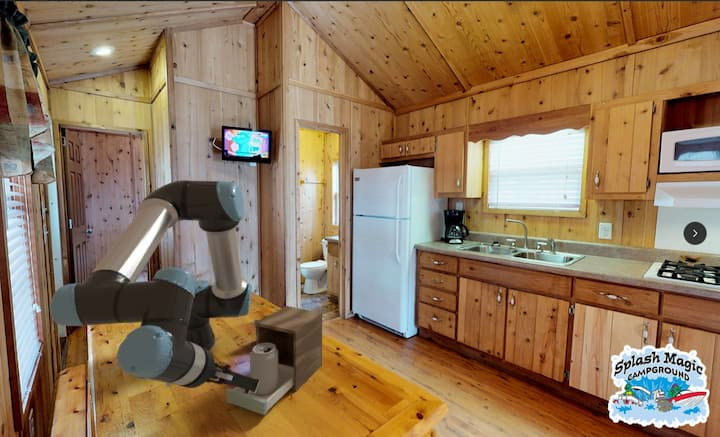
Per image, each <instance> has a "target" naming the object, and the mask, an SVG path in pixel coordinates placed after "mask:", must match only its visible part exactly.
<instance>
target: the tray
mask: <svg viewBox="0 0 720 437" xmlns="http://www.w3.org/2000/svg"><path fill="white" fill-rule="evenodd" d="M293 385H294V367H291V366H288V365H284V364H281V363H278V386H277V388H276V389H275V390H274V391H273V392H271V393H269V394H267V395H257V394H255V393H254V392H250V391H249V392H248V394H246V393H244V392H245V390H243V388H240V387H236V386H235V387H234V388H231V387H230V388H229V387H228V389H226V402H227V403H229V404H233V405H235V406H238V407H241V408H244V409H247V410H249V411H251V412H255V413H258V414H259V415H262V416H266V415H267V414H268V411H269V410H270V409H271V408H272V407H273V406H274V405H275V404H276V403H277V402H278V401H279V400H280V399H281V398H282V397H283V396H284V395H285V394H286V393H287V392H288V391H290V390H289V389H290V388H291V387H292V386H293Z"/></svg>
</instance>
